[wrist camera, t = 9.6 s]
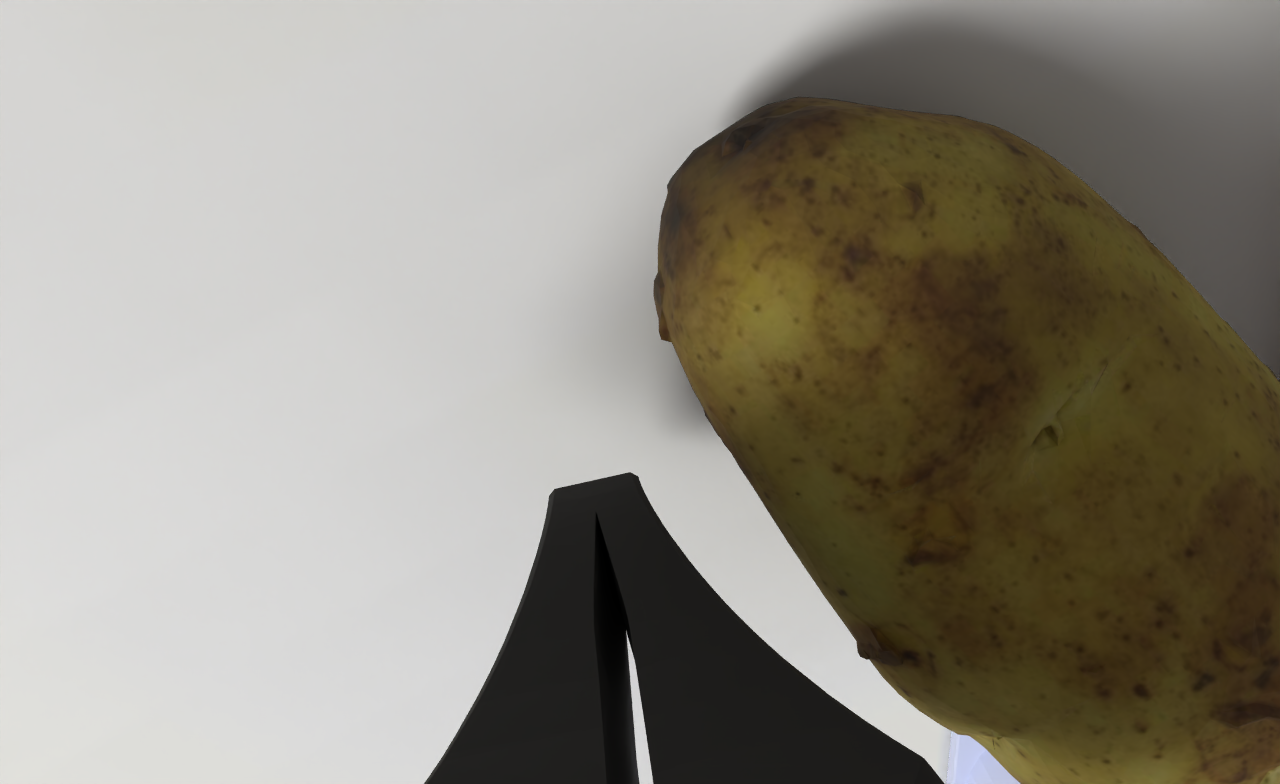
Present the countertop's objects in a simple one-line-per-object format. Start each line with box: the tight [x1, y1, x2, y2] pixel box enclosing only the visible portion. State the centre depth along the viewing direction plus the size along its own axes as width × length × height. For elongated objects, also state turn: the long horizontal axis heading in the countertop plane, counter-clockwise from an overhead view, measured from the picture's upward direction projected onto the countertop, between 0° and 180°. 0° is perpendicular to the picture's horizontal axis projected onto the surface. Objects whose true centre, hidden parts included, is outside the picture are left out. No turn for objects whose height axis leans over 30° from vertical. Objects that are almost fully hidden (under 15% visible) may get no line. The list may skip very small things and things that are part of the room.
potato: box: [654, 97, 1280, 784], centre depth 12 cm, size 8×13×8 cm, turn 26°
